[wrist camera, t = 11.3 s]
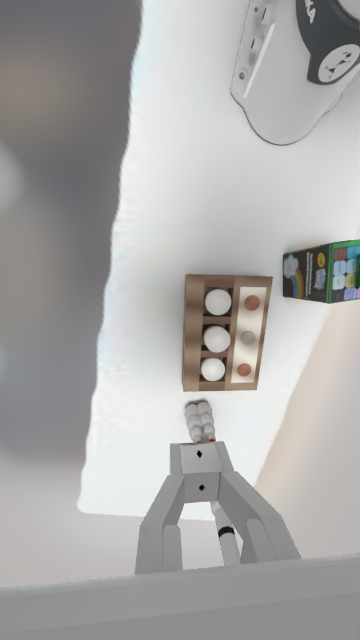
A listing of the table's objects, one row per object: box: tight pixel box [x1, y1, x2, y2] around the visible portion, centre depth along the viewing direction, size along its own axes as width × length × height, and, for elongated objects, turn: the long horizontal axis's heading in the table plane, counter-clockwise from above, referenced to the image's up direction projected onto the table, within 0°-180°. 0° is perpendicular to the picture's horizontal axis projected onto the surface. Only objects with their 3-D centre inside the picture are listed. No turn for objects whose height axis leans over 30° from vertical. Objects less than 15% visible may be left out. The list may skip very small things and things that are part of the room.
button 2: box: [203, 289, 231, 315], centre depth 35 cm, size 5×5×3 cm
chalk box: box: [283, 240, 360, 304], centre depth 31 cm, size 9×9×15 cm
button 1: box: [200, 357, 225, 381], centre depth 38 cm, size 5×5×3 cm
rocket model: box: [185, 402, 241, 566], centre depth 29 cm, size 7×7×30 cm
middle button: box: [202, 324, 231, 353], centre depth 35 cm, size 5×5×3 cm
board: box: [182, 274, 273, 392], centre depth 37 cm, size 24×16×4 cm, turn 179°
